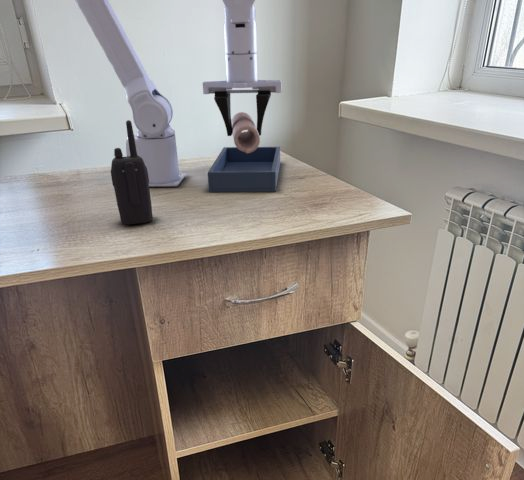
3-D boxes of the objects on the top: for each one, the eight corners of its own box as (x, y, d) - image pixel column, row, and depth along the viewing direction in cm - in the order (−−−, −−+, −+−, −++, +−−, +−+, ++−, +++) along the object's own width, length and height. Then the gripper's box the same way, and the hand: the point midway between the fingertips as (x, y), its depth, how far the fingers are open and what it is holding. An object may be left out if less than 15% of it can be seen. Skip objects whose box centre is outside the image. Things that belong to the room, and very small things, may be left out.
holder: (209, 192, 94) (207, 172, 92) (224, 164, 113) (223, 147, 111) (275, 191, 93) (275, 171, 91) (280, 163, 112) (280, 146, 110)
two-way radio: (153, 217, 82) (138, 118, 74) (157, 225, 79) (142, 122, 70) (119, 221, 81) (100, 120, 73) (121, 230, 77) (102, 125, 69)
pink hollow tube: (261, 127, 88) (253, 112, 103) (234, 124, 87) (231, 110, 102) (259, 154, 90) (252, 136, 105) (233, 152, 89) (230, 134, 105)
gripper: (197, 55, 86) (203, 139, 94) (280, 53, 85) (280, 138, 93) (204, 53, 92) (209, 132, 100) (282, 51, 91) (282, 131, 99)
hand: (244, 134), depth 97 cm, fingers closed on pink hollow tube, 5 cm apart
